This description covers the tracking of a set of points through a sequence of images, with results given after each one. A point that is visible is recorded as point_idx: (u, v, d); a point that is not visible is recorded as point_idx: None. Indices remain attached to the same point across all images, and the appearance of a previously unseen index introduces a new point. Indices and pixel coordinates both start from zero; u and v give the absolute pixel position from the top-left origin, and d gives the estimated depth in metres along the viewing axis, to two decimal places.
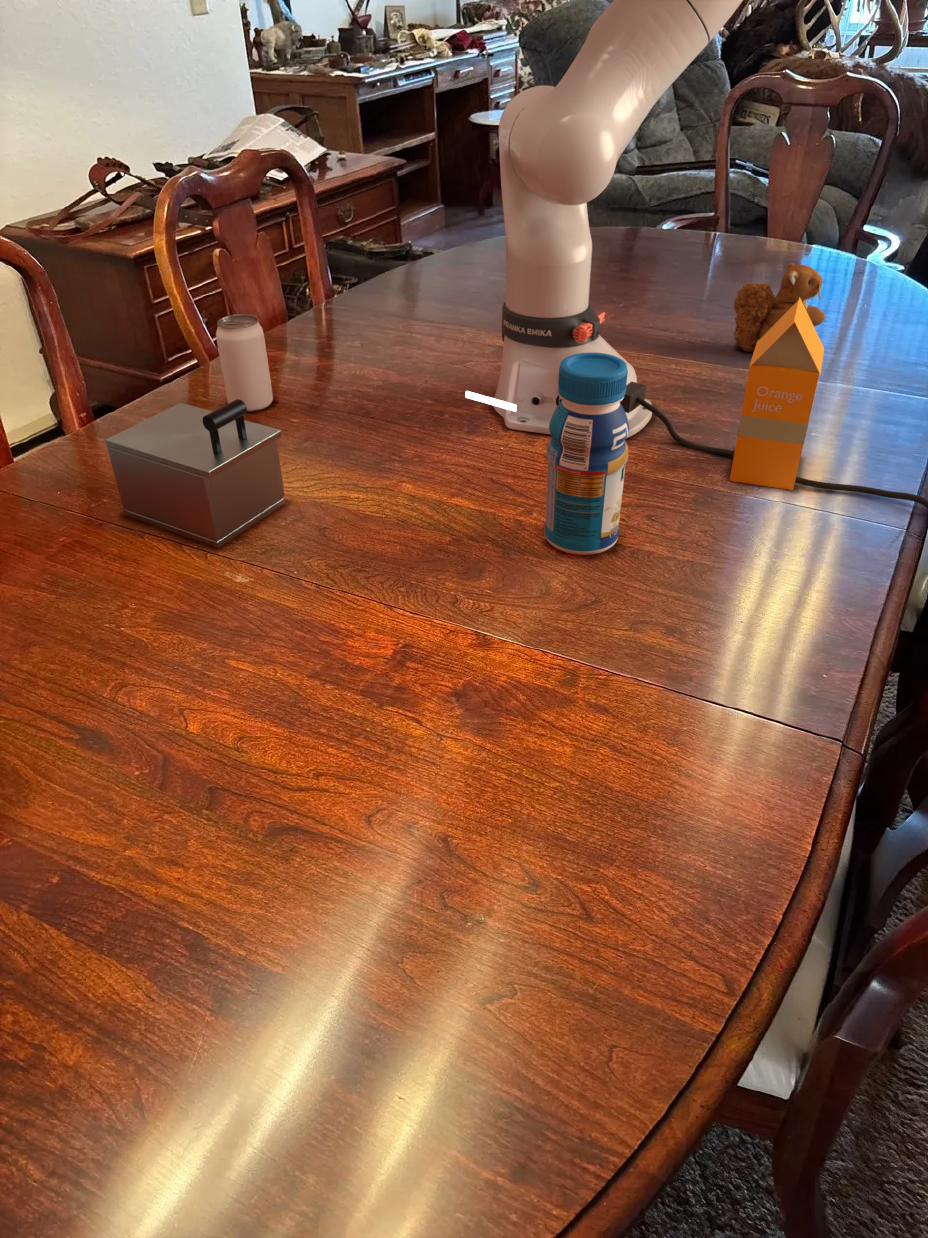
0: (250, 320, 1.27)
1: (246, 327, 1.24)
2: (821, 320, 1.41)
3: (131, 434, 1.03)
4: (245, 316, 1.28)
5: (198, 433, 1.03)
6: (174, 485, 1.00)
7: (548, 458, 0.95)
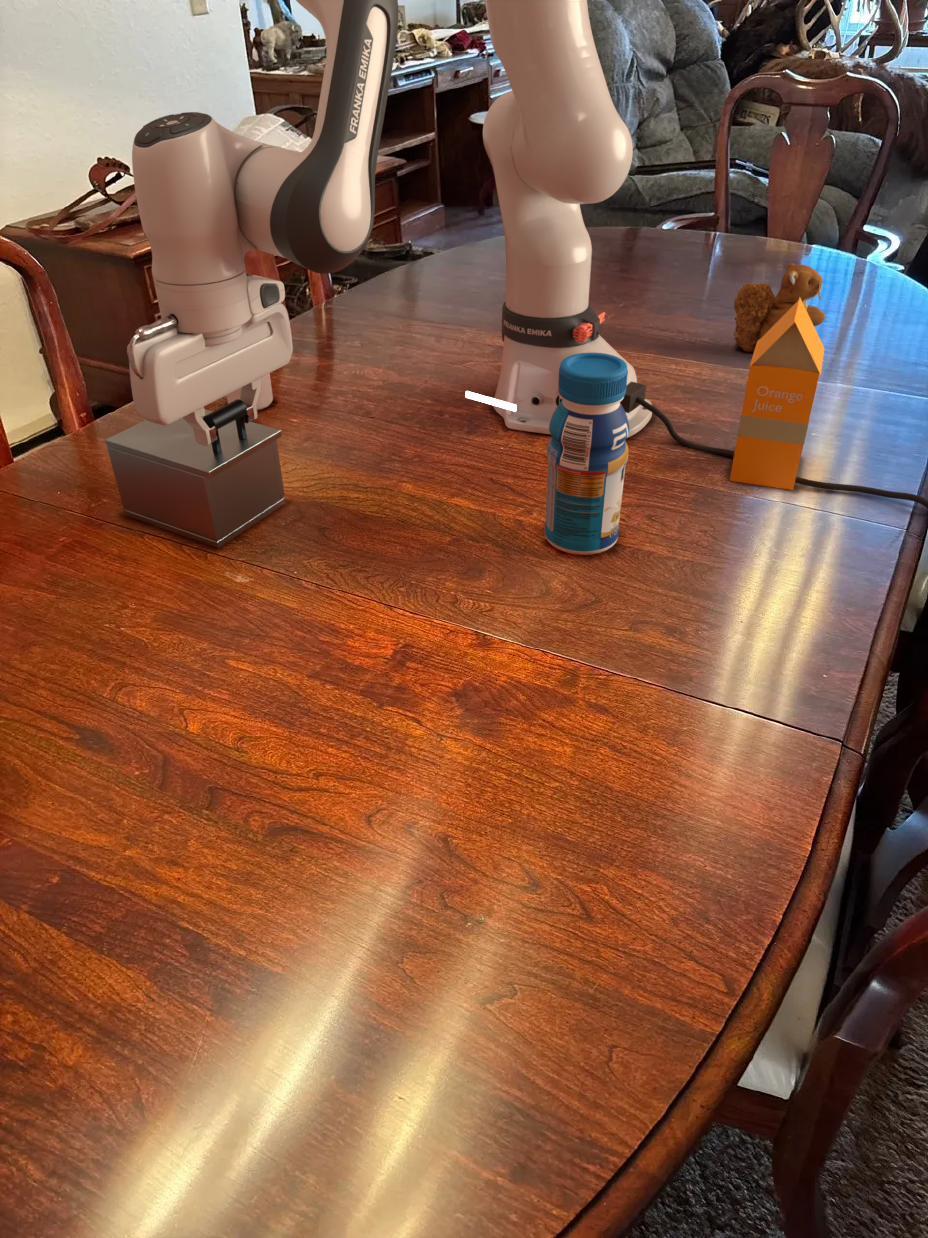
0: None
1: None
2: (821, 320, 1.41)
3: (131, 434, 1.03)
4: None
5: None
6: (174, 485, 1.00)
7: (548, 458, 0.95)
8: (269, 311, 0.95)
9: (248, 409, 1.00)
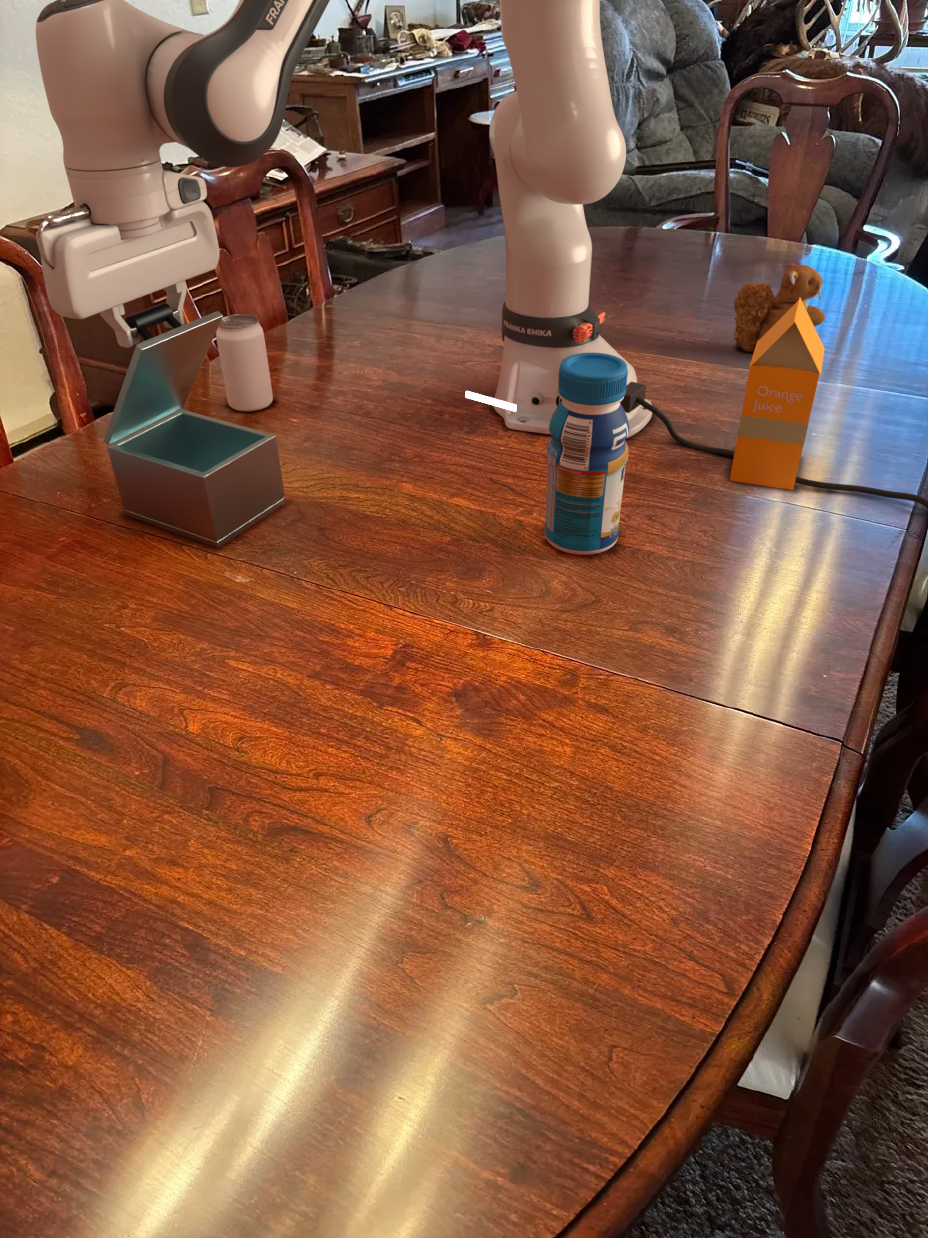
0: (250, 320, 1.27)
1: (246, 327, 1.24)
2: (821, 320, 1.41)
3: None
4: (245, 316, 1.28)
5: None
6: (174, 485, 1.00)
7: (548, 458, 0.95)
8: (190, 208, 0.94)
9: (173, 313, 0.98)
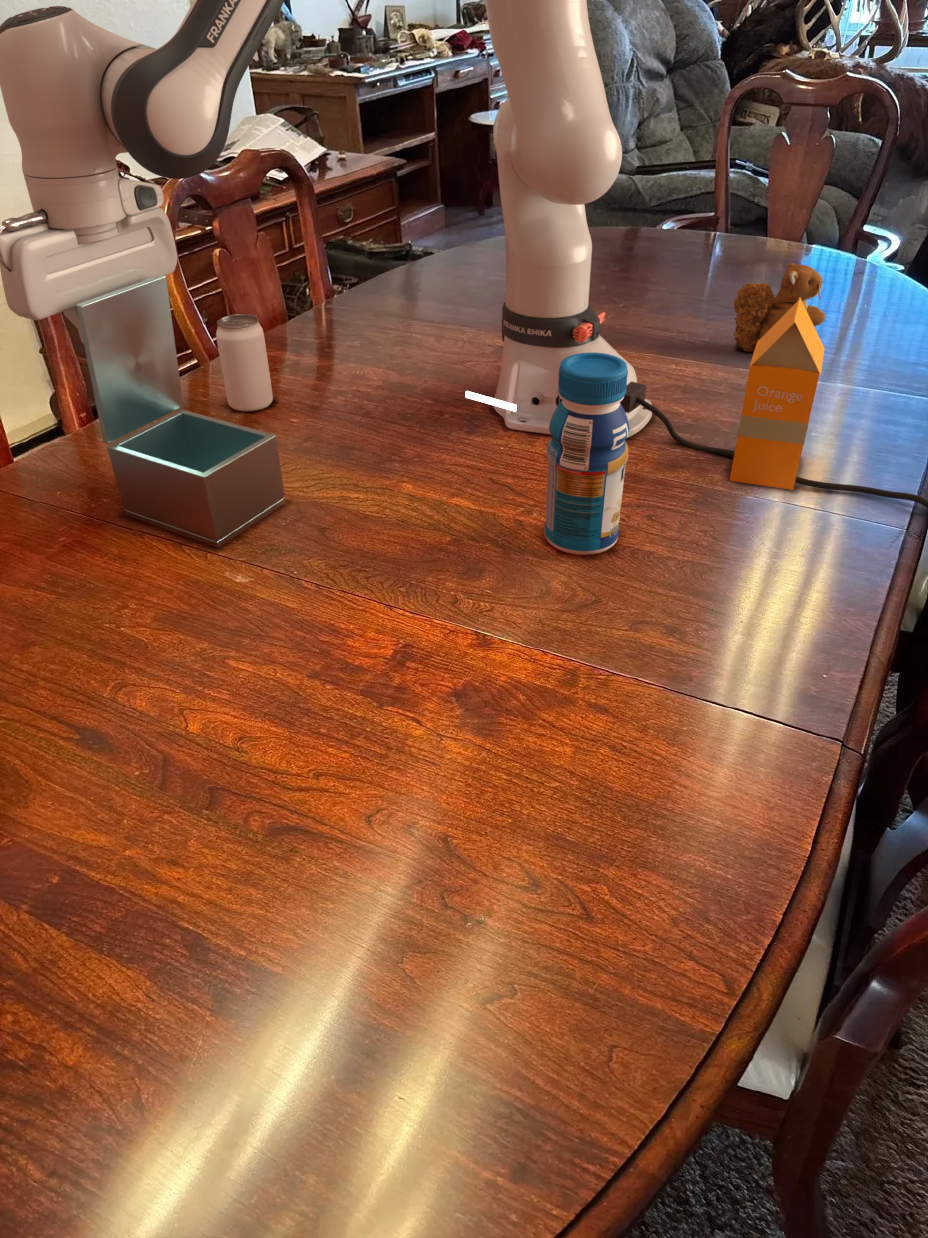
0: (250, 320, 1.27)
1: (246, 327, 1.24)
2: (821, 320, 1.41)
3: None
4: (245, 316, 1.28)
5: None
6: (174, 485, 1.00)
7: (548, 458, 0.95)
8: (147, 214, 0.97)
9: None
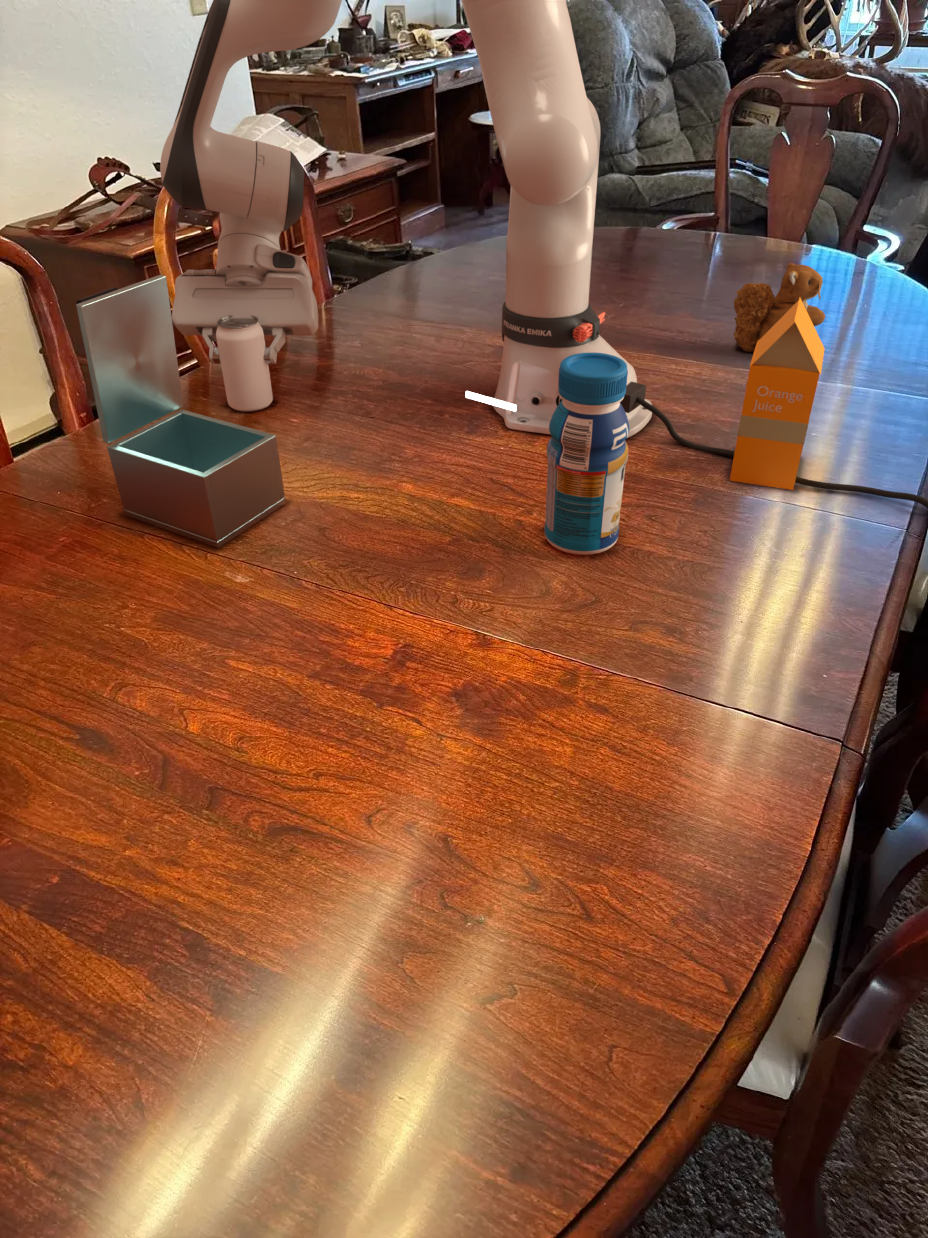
0: (250, 320, 1.27)
1: (246, 327, 1.24)
2: (821, 320, 1.41)
3: None
4: None
5: None
6: (174, 485, 1.00)
7: (548, 458, 0.95)
8: (285, 274, 1.27)
9: (265, 348, 1.28)
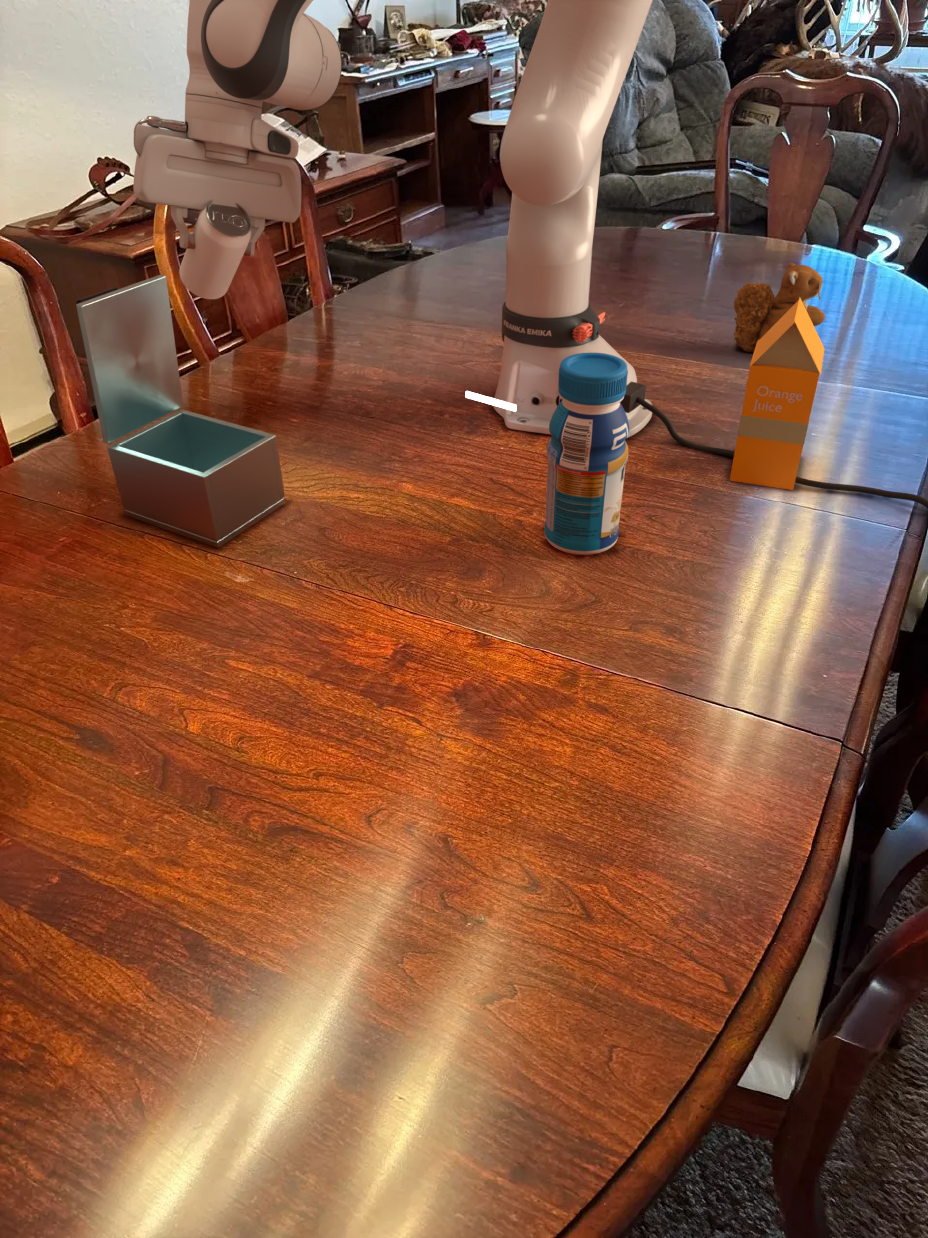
0: (237, 212, 1.13)
1: (245, 234, 1.12)
2: (821, 320, 1.41)
3: None
4: None
5: None
6: (174, 485, 1.00)
7: (548, 458, 0.95)
8: (278, 159, 1.13)
9: None
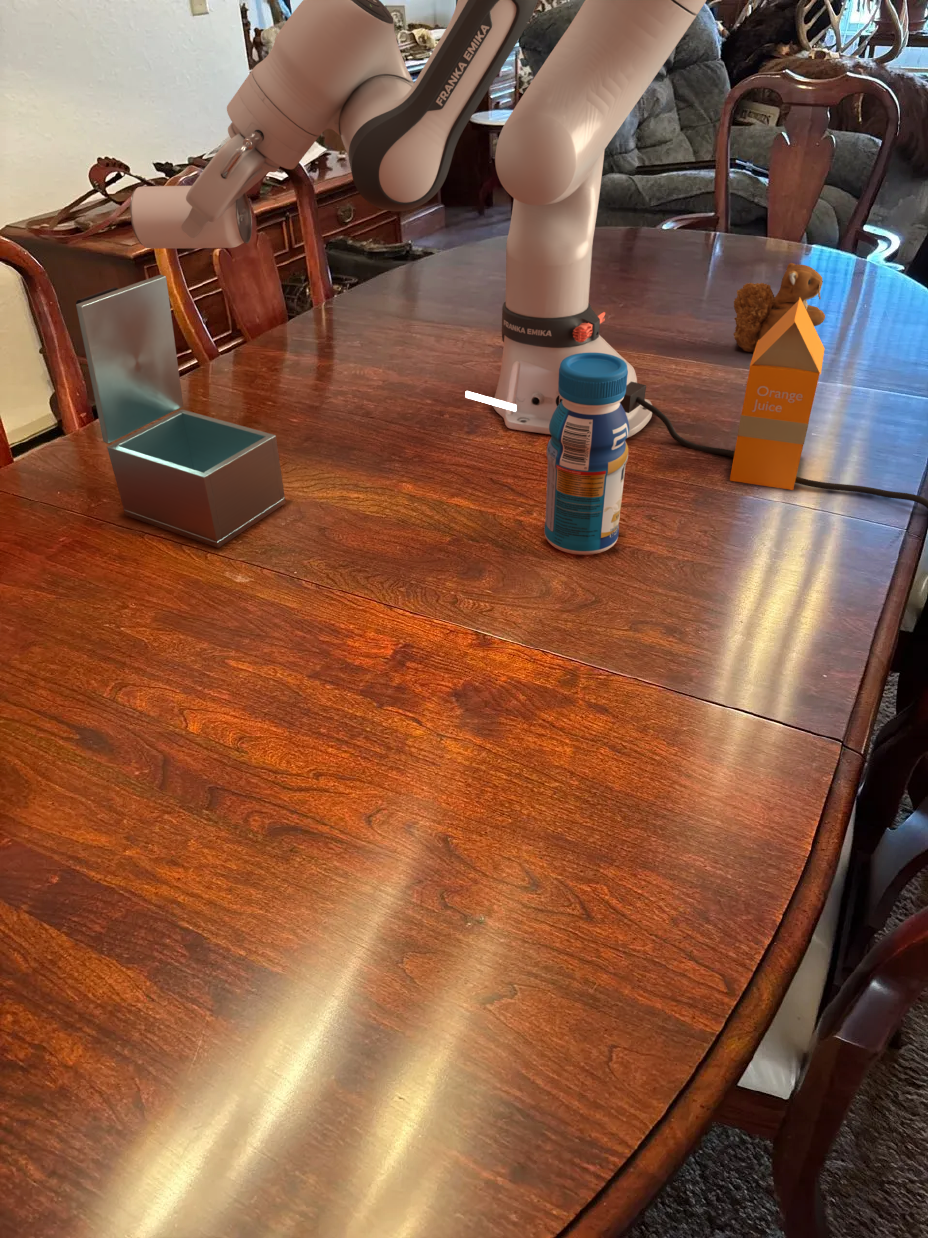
0: (243, 202, 1.04)
1: (250, 233, 1.06)
2: (821, 320, 1.41)
3: None
4: None
5: None
6: (174, 485, 1.00)
7: (548, 458, 0.95)
8: None
9: None
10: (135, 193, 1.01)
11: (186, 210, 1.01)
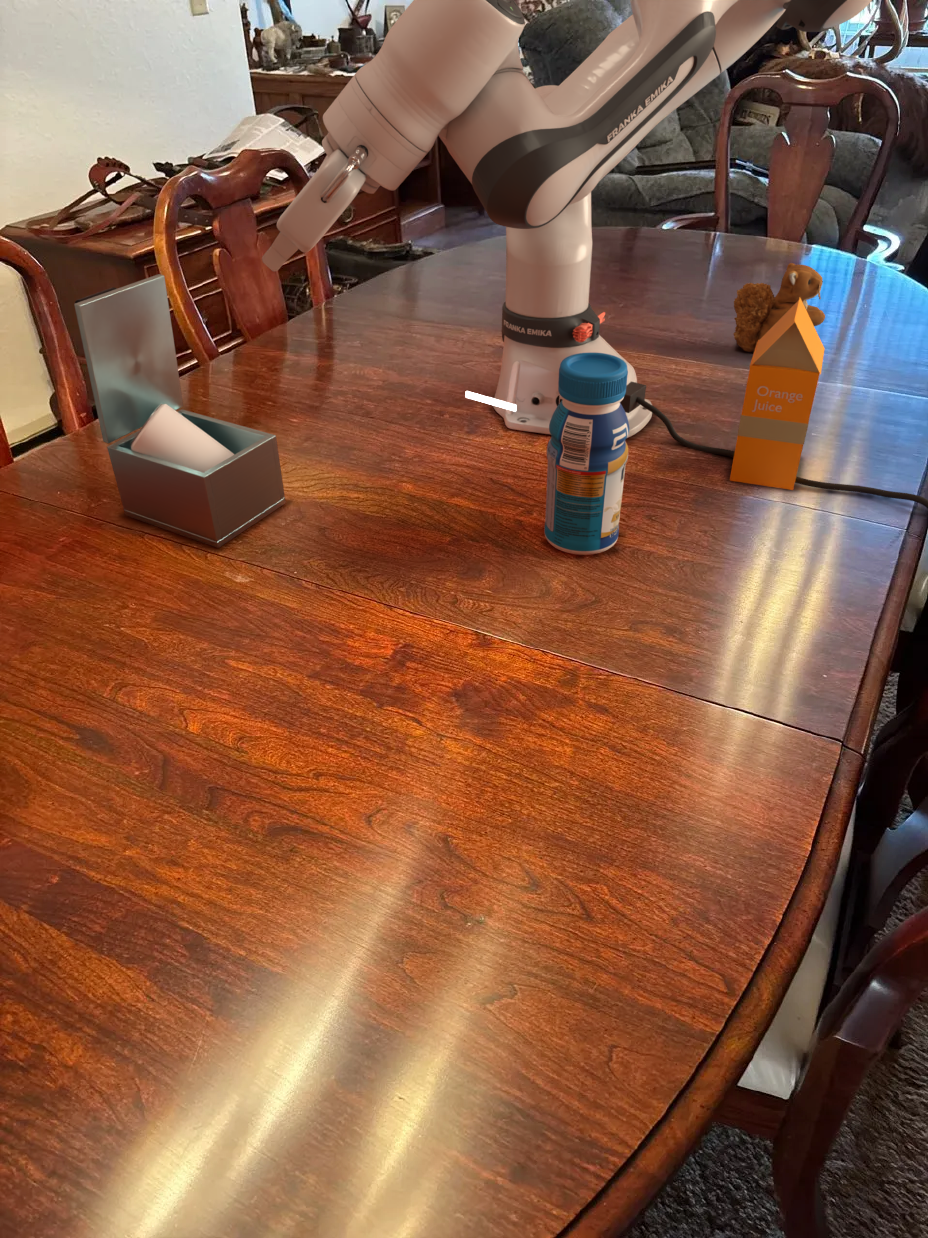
0: None
1: None
2: (821, 320, 1.41)
3: None
4: None
5: None
6: (174, 485, 1.00)
7: (548, 458, 0.95)
8: None
9: None
10: (156, 417, 1.00)
11: (191, 466, 1.01)
